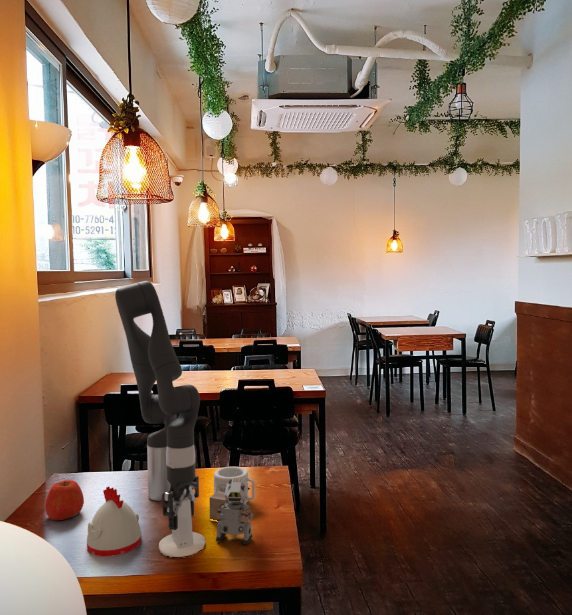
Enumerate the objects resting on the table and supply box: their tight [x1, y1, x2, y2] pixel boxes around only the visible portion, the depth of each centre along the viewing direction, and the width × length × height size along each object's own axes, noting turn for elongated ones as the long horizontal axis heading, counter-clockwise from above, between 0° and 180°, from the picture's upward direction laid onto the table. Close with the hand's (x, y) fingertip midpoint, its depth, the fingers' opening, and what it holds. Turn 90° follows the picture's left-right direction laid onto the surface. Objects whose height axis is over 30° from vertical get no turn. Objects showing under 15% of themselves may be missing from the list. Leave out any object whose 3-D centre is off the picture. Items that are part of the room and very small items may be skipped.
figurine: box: [215, 478, 254, 546], centre depth 144 cm, size 9×12×15 cm
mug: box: [213, 466, 256, 505], centre depth 166 cm, size 14×11×10 cm
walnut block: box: [209, 491, 228, 520], centre depth 156 cm, size 5×5×7 cm
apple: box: [44, 479, 85, 521], centre depth 158 cm, size 11×11×11 cm
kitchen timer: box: [86, 486, 142, 557], centre depth 142 cm, size 14×14×15 cm
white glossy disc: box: [158, 531, 206, 558], centre depth 140 cm, size 12×12×1 cm
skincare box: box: [171, 497, 193, 548], centre depth 140 cm, size 6×4×12 cm
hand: (181, 522), depth 140 cm, fingers open, 7 cm apart
